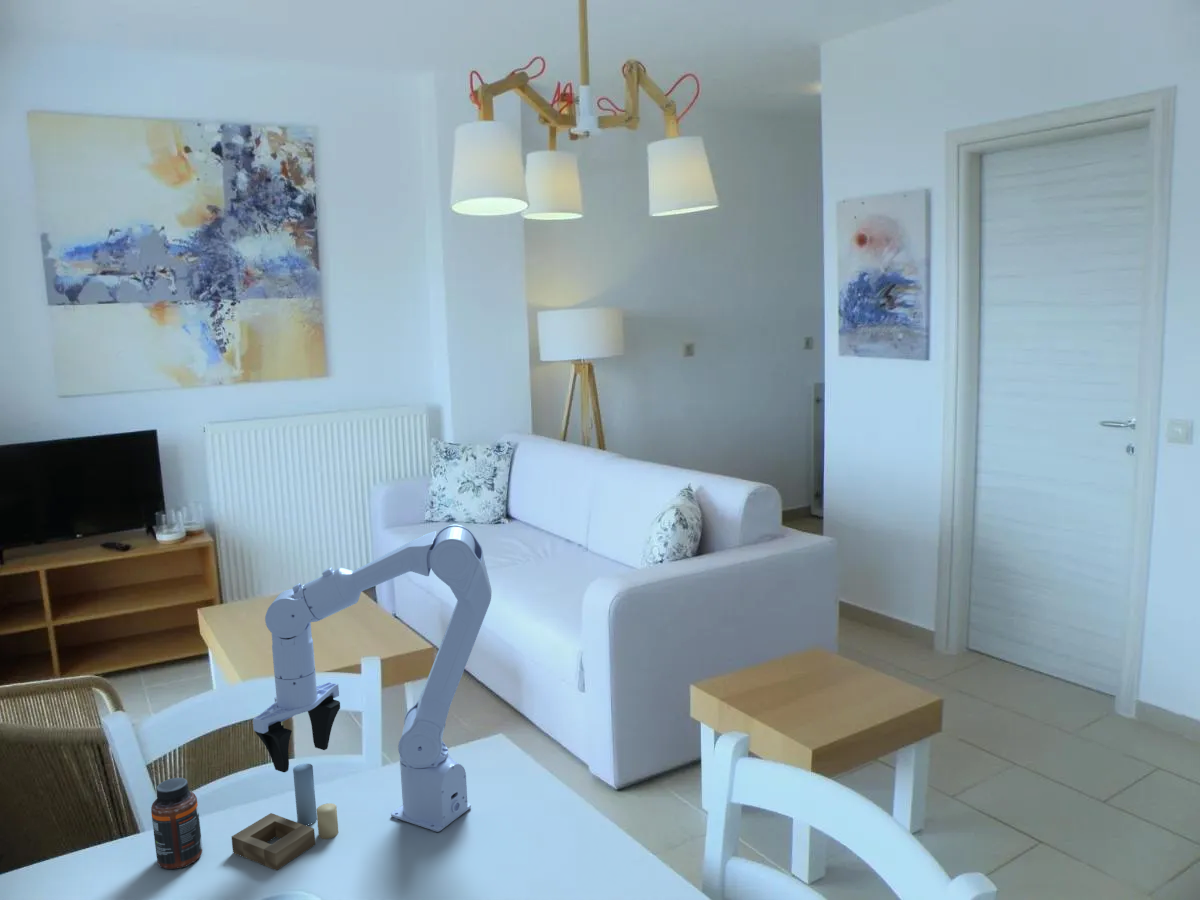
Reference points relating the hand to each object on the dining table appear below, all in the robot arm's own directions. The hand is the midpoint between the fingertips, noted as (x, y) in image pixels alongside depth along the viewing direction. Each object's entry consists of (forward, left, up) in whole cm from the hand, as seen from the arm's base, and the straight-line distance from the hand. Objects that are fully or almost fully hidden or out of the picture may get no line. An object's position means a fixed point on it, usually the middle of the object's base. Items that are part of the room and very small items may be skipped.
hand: (302, 758), depth 140 cm
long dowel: (0, 0, -10) cm, 10 cm away
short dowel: (-6, +1, -10) cm, 11 cm away
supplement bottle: (+8, +15, -10) cm, 20 cm away
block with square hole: (-2, +7, -10) cm, 13 cm away
